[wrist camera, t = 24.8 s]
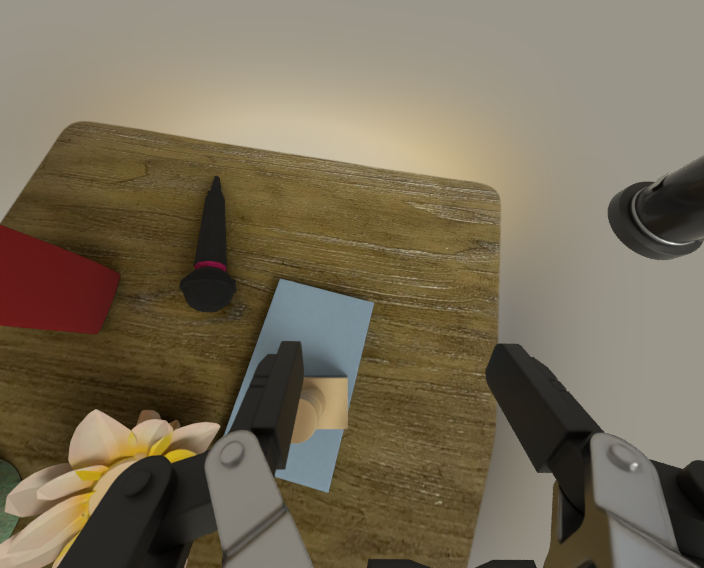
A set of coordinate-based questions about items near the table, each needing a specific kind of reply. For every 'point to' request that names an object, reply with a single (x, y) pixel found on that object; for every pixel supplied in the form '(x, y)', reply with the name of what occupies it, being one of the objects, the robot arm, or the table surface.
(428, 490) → the table surface
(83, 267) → the red curved piece
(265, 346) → the mat
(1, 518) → the decorative artifact
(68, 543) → the decorative flower
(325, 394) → the wooden stamp
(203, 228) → the microphone
